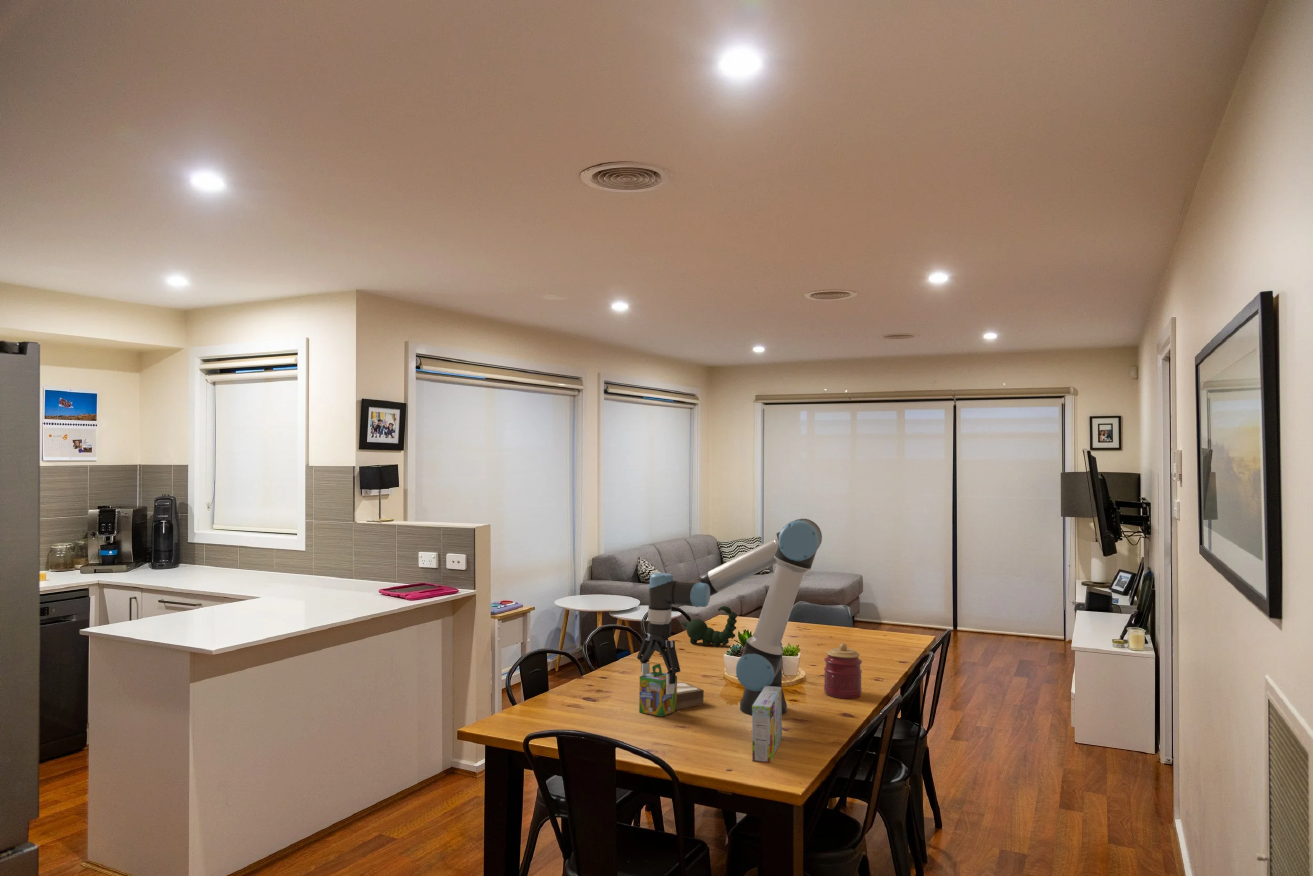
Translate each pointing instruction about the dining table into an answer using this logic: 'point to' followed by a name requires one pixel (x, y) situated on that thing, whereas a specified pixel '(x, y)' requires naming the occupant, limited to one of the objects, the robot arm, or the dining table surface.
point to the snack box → (766, 724)
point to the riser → (688, 695)
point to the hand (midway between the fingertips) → (657, 688)
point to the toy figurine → (711, 630)
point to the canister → (843, 673)
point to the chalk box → (656, 694)
